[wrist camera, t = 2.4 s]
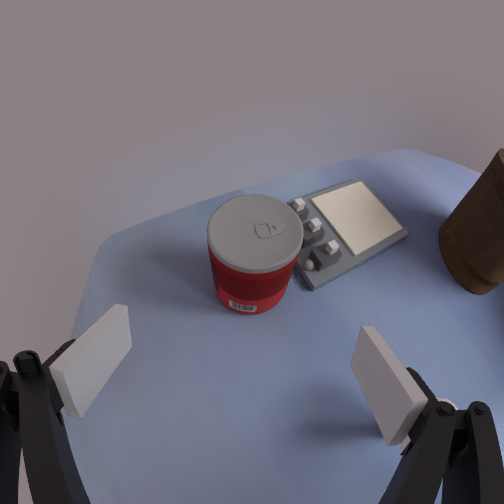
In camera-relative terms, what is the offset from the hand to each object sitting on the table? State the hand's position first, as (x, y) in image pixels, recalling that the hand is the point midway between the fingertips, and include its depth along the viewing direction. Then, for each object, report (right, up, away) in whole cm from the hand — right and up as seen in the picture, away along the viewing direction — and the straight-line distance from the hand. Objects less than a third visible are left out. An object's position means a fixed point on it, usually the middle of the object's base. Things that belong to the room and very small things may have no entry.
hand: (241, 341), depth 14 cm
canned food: (0, +1, +17) cm, 18 cm away
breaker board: (+13, +8, +22) cm, 27 cm away
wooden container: (+37, +4, +21) cm, 43 cm away
